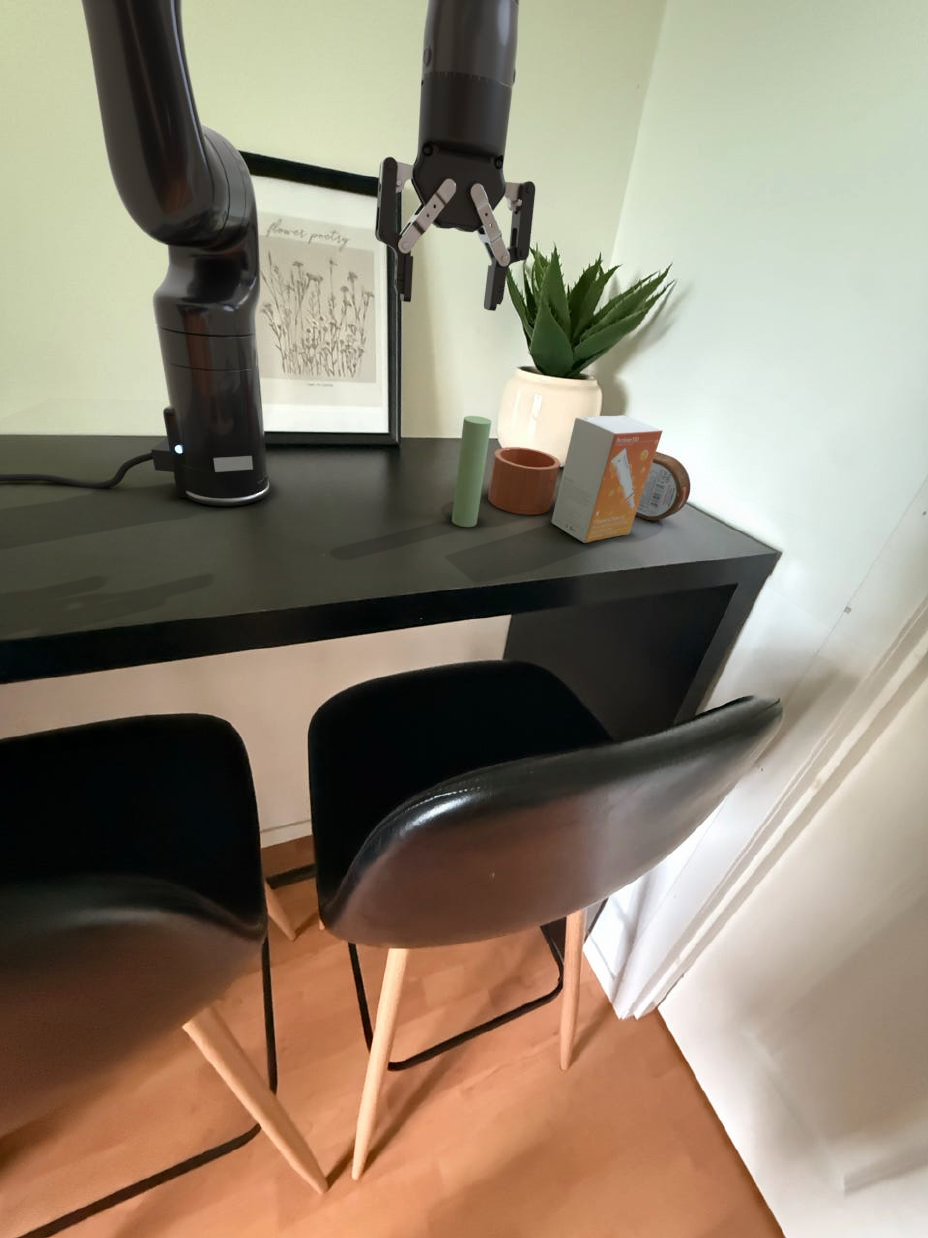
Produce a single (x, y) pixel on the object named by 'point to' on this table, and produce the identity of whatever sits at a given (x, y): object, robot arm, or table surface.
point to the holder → (523, 480)
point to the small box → (604, 476)
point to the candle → (470, 470)
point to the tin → (664, 488)
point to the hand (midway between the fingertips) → (448, 305)
